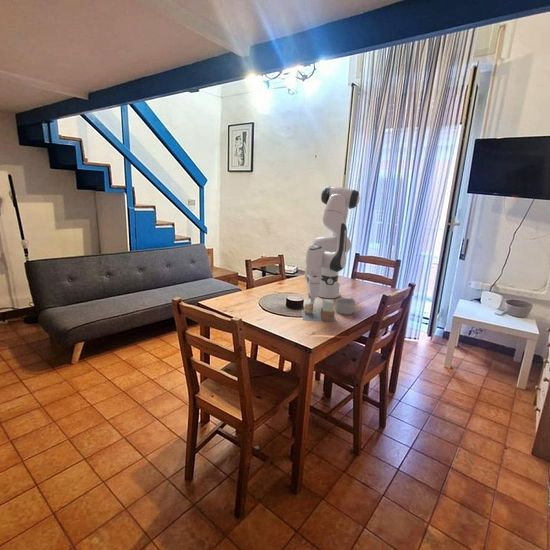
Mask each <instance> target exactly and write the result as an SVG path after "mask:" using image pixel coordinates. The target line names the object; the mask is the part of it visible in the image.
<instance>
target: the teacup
mask: <svg viewBox="0 0 550 550" xmlns="http://www.w3.org/2000/svg"><path fill="white" fill-rule="evenodd" d="M355 306H356V300H355V299H354V298H347V297H341V298H336V299H335V311H336V312H337V313H338V314H340V315H347V316H349V315H352V314H353V313H354V312H355V309H356V308H355Z"/></svg>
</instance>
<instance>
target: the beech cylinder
mask: <svg viewBox="0 0 550 550" xmlns="http://www.w3.org/2000/svg"><path fill="white" fill-rule="evenodd" d="M304 304H305V305H304V311H305V314H308V315H311V314H313V311H314V304H311V302H308V303H307V302H306V303H304Z"/></svg>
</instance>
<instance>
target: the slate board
mask: <svg viewBox="0 0 550 550" xmlns="http://www.w3.org/2000/svg"><path fill="white" fill-rule="evenodd" d="M300 313H301V318H302V321H303V322H304V321H306V322H324V323H325V322H326V323H338V320H337V319H336V316H335V315H334V321H322V319H321V317H320V316H321V311H314V310H313V314H311V315H308V314H305V310H300Z"/></svg>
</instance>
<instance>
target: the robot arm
mask: <svg viewBox="0 0 550 550" xmlns="http://www.w3.org/2000/svg"><path fill="white" fill-rule="evenodd" d="M360 199H361V197H360V192H359V191H358V190H355V189H351V188H347V187H344V186H343V187H338V186H332V185H331V186H329V185H327V186H324V187H323V189H322V191H321V193H320V201H321V202H322V203H323V204H324V205H325V208H324V211H323V214H322V215H323V216H322V223H323V225H324V226H325V227H326V228H327V229H328V230H329V231H331V232H332V235H331V236H319V237H316V238H315V239H314V241H312V242H313V243H312V245H310V246H309V247H307V251H306V257H305V265H306V266H305V269H304V280H306V289H307V292H308V293H307V294H308V299H310V303H311V304H313V305H314V304H315V301H316V298H318V297H321V298H323V299H335V298H336V299H337V298H338V297H341V296H342V293H340V287H341V286H340V283H339V282H338V281H339V272H341V270H343V269H344V268H345V266H346V261H347V260H346V259H347V257H346V253H349V252H350V250H351V248H352V241H351V240H350V239H349V237H348V234H347V233H348V231H347V230H348V229H347V219H348V214H349V210H351V209H355V208H356V207H357V206H358V205H359V203H360V201H361V200H360Z"/></svg>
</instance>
